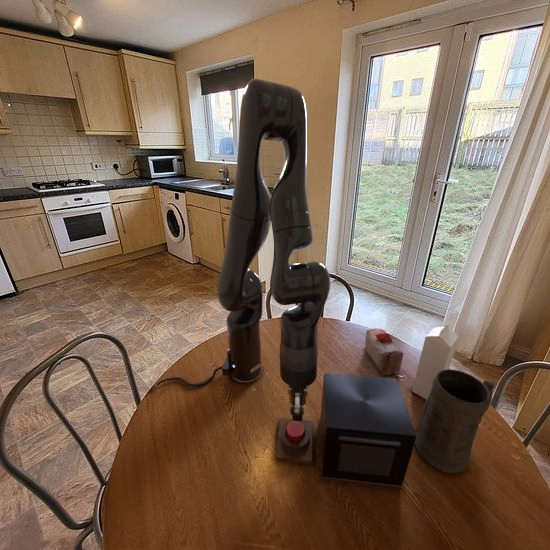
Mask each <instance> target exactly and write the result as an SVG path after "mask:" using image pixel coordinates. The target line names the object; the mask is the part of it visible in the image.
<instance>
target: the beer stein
mask: <svg viewBox="0 0 550 550" xmlns="http://www.w3.org/2000/svg"><path fill="white" fill-rule="evenodd" d="M495 386H496V383H495V382H494V380H493V381H492V380H489V379H486V380H484V381H483V382H482V381H481V380H480V379H479V378H476V377H475V376H473V375H472V374H469V373H467V372H465V371H461V370H457V369H449V370H448V369H447V370H442V371H440V372H438V374H437V375H436V377H435V378H434V379H433V383H432V388H431V392H430V395H429V396H428V397H427V400H426V399H425V402H424V406H423V410H422V413H421V416H420V419H419V423H418V428H417V432H415V433H416V440H415V443H414V446H415V448H416V450H417V452H418V454H419V455H420V457H421V458H422V459H423V460H424V461H425V462H427V463H428V464H429V465H431V466H432V467H434V468H435V469H436V470H439V471H440V472H444V473H448V474H458V473H461V472H463V471H464V470H466V468H467V466H468V464H469V459H470V458H471V454H472V448H473V444H474V440H475V439H476V434H477V431H478V428H479V426H480V423H481V421H482V419H483V416H484V415H485V413H486V412H487V411H488V410H489V408H490V405H491V403H492V399H493V392H494V388H495Z"/></svg>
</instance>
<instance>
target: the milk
mask: <svg viewBox="0 0 550 550" xmlns="http://www.w3.org/2000/svg"><path fill="white" fill-rule="evenodd" d="M459 338H460V336H459V335H457V334H456V332H454V330H452V328H451V327H450V321H448V322H447V323H446V325H444V326H434V327H433V328H432V330H430V331H429V332H428V333H427V335H425V337H424V341H423V345H422V349H421V353H420V358H419V361H418V364H417V369H416V373H415V377H414V381H413V386H412V388H411V392H412V393H414V394H415V395H418V396H420V397H421V398H423V399H425V401H426V400H427V397H428V396H429V395H430V392H431V388H432V383H433V379H434V378H435V377H436V375H437V374H438V372H440V371H442V370H447V369H448V370H450V367H451V365H452V361H453V358H454V355H455V352H456V350H457V349H456V348H457V345H458V342H459V340H460V339H459Z"/></svg>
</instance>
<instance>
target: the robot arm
mask: <svg viewBox="0 0 550 550" xmlns="http://www.w3.org/2000/svg"><path fill="white" fill-rule="evenodd" d="M241 97H242V98H241V103H240V111H239V122H238V123H239V125H238V141H237V158H236V159H237V160H236V169H235V178H234V185H233V192H232V199H231V205H230V210H229V211H230V212H229V220H228V228H227V235H226V236H227V238H226V243H225V249H224V255H223V260H222V265H221V268H220V273H219V276H218V280H217V285H216V295H217V298H218V303H219V304H220V306H221V307H222V308H223V309H224V310H225V311H227V312H229V313H228V315H227V316H226V332H227V342H228V349H227V352H226V354H227V357H225V360H224V362H223V365H222V366H219V367H217V368H215V369H214V371H213V373H212V375H211V376H210V377H209V378H208V379H206V380H205V381H202V382H199V383H190V382H189V381H187V380H185V379H184V378H183V377H180V376H174V377H168V378H164V379H162V380H159V381H158V382H156V383H155V384H157V383H158V384H157V386H155V387H154V388H153V390H155V388H157V387H158V386H159V385H161V384H163V383H165V382H169V381H175V380H176V381H177V380H178V381H181V382H182V383H184V384H185V385H186V386H188V387H192V388H193V387H195V388H196V387H200V386H204V385H206V384H208V383H209V382H211V381H212V380H214V378H215V377H216V374H217V372H218V371H220V370H221V373H222V376H223V377H229V379H233V381H235V382H237V383H240V384H250V383H254V382H256V381H257V380H258V379H259V378H260V377H261V376H262V374H263V368H262V367H263V366H262V349H261V348H262V346H261V344H262V343H261V319H262V316H263V301H264V300H263V299H264V293H263V291H264V290H263V284H262V281H261V279H260V276H259V275H258V273H256V272H255V271H254V270H252V269H250V266H251V265H252V263H253V262H254V260H255V258H256V257H257V256H258V254H259V252H260V250H261V249H262V247H263V246H264V244H265V242H266V241H267V238H268V236H269V232H270V228H271V230H272V238H273V256H272V257H273V259H272V266H271V272H270V281H269V290H270V295H271V297H272V298H273V299H274V301H275V302H276V303H277V304H279V305H281V306H290V307H289V308H287V309H286V310H283V312H282V314H281V316H280V343H279V376H280V378H281V380H282V381H283V383H284V384H286V385H288V386H287V387H288V388H287V394H288V395H289V404H291V405H290V409H289V412H290V415H291V416H292V417H291V419H293V420H294V421H302V420H303V416H304V414H305V406H304V405H306V403H307V396H308V387H309V386H311V385H313V383H314V382H315V381H316V379H317V376H318V375H317V374H318V356H319V346H318V333H319V332H318V331H319V330H318V329H319V321H320V320H321V317H322V313H323V311H324V307H325V305H326V302H327V301H328V297H329V294H330V290H331V276H330V272H329V270H328V268H327V267H326V266H325V264H323V263H322V262H320V261H307V262H299V263H290V261H291V260H290V259H291V257H292V255H293V254H295V253H297V252H300V251H303V250H306V249H308V248H309V247H311V246H312V244H313V243H314V234H313V233H314V232H313V227H312V226H313V225H312V220H311V214H310V207H309V200H308V187H307V167H308V166H307V163H308V161H307V160H308V159H307V158H308V156H307V154H308V152H307V151H308V144H307V143H308V141H307V139H308V138H307V137H308V133H307V132H308V131H307V130H308V129H307V128H308V127H307V125H308V123H307V121H308V119H307V107H306V102H305V98H304V96H303V93H302V92H301V90H299V89H298V88H296V87H293V86H290V85H286V84H282V83H278V82H275V81H274V82H273V81H269V80H266V79H265V80H264V79H260V78H252V79H250V80H249V81H248V82H247V83H246V85H245V87H244V90H243V94H242V96H241ZM262 140H265V141H272V142H277V143H281V144H282V147H283V154H284V155H283V156H284V157H283V158H284V159H283V164H282V165H283V166H282V169H281V171H280V173H279V176H278V179H277V181H276V183H275V185H274V188H273V190H272V193H270V190H269V187H268V186H267V183H266V180H265V177H264V175H263V171H262V167H261V148H262V146H261V145H262V142H263V141H262ZM291 305H293V306H291ZM170 378H171V379H170ZM166 380H167V381H166ZM164 381H165V382H164ZM162 382H163V383H162ZM160 383H161V384H160ZM150 389H151V388H150ZM150 389H149V390H150ZM151 390H152V389H151ZM151 390H150V391H149V392H152V391H153V390H152V391H151Z"/></svg>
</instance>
